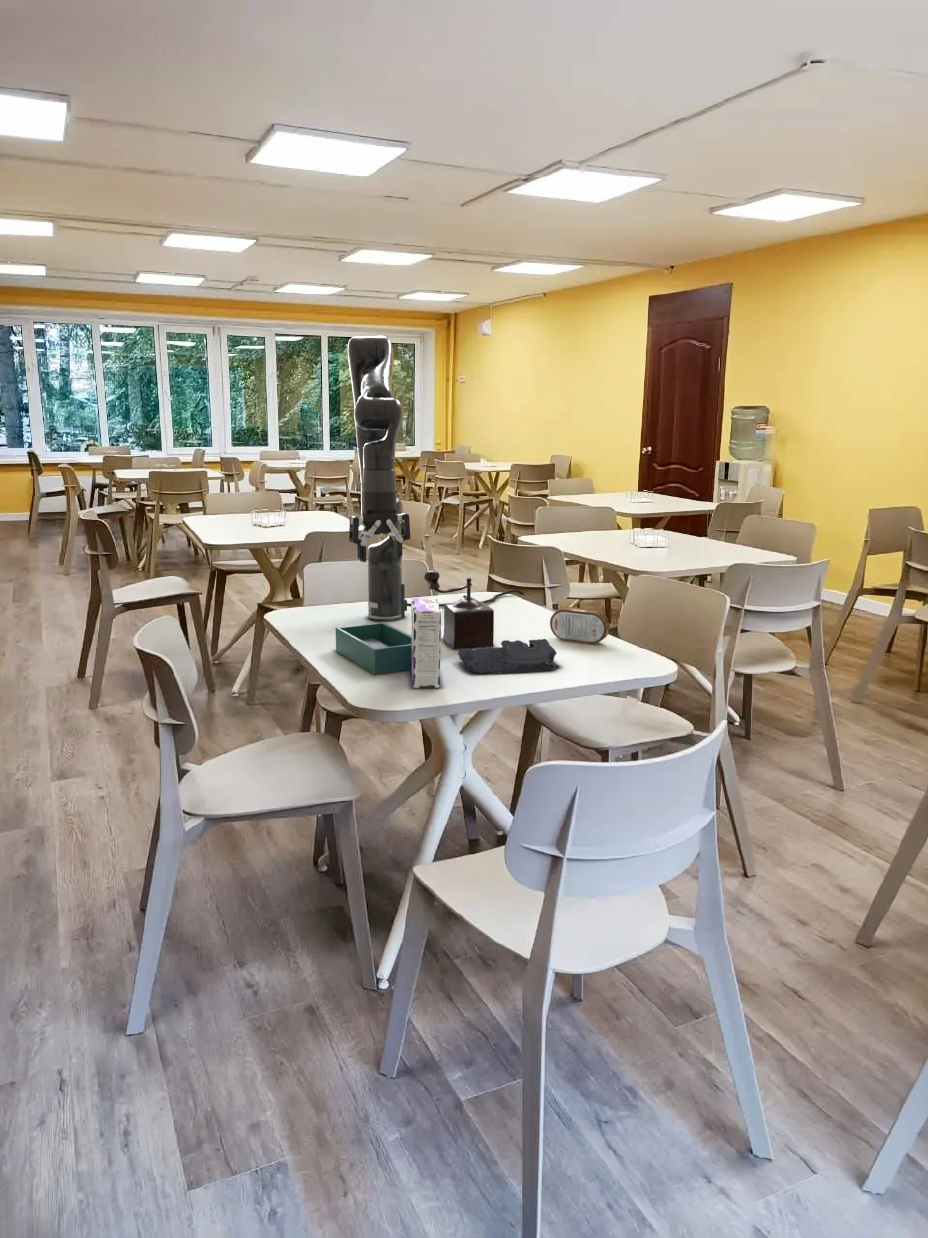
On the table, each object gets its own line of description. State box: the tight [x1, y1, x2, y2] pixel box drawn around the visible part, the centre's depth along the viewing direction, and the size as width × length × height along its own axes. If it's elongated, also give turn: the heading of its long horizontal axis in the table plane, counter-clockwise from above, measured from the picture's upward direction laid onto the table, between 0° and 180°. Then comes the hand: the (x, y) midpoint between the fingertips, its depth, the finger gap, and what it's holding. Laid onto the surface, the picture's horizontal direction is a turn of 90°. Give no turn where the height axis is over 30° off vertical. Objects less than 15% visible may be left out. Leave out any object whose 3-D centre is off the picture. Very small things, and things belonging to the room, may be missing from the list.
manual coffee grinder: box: [423, 569, 495, 650], centre depth 217 cm, size 16×11×18 cm
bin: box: [335, 621, 412, 675], centre depth 204 cm, size 13×23×6 cm, turn 30°
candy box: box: [410, 597, 442, 689], centre depth 188 cm, size 14×6×16 cm, turn 5°
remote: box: [362, 638, 389, 648], centre depth 204 cm, size 4×16×2 cm, turn 30°
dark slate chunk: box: [457, 638, 560, 675], centre depth 201 cm, size 15×22×5 cm
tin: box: [549, 606, 611, 645], centre depth 222 cm, size 15×3×8 cm, turn 65°
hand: (380, 560), depth 203 cm, fingers open, 8 cm apart
